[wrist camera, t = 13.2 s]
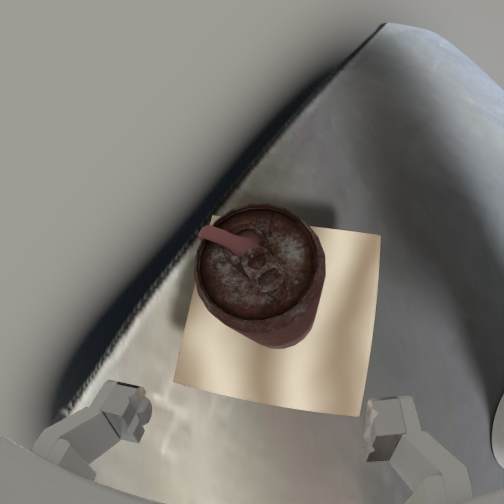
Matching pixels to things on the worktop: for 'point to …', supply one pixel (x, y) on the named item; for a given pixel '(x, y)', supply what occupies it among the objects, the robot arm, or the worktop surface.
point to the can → (261, 274)
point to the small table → (303, 353)
